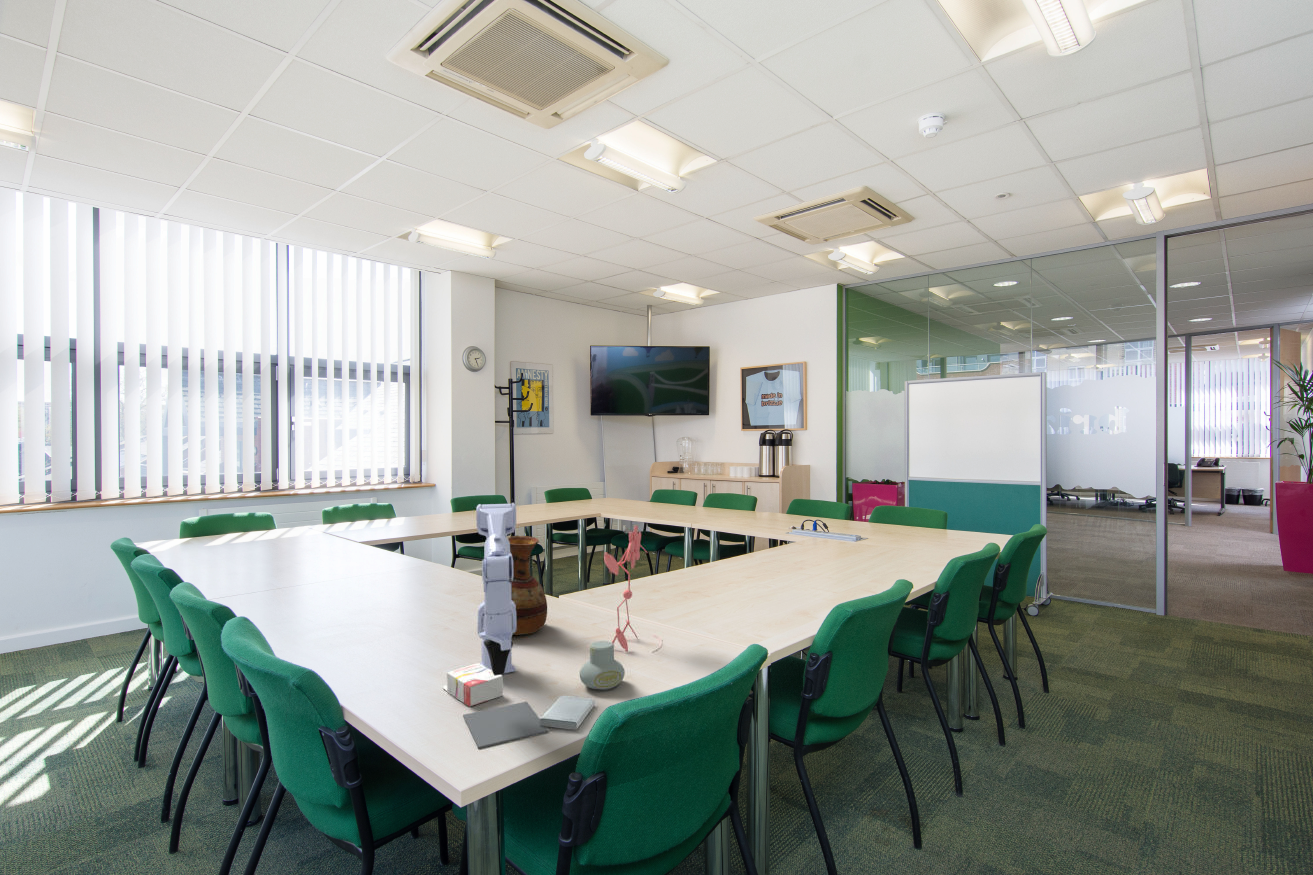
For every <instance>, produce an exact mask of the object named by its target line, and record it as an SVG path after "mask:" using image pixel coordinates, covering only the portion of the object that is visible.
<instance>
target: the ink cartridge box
mask: <svg viewBox="0 0 1313 875" xmlns="http://www.w3.org/2000/svg"><path fill="white" fill-rule="evenodd" d="M479 663H480V662H476V663H473V664H469V665H467V666H463V667H460V668H457V669H454V670H451V671H448V672H446V679H447V680H446V685H443V686H442V689H444V690H445V691H446V692H447V693H448V694H449V695H451V696H452V697H454V698H456V699H457V700H459V701H460V702H462V703H464V704H465V705H466V706H468V707H473V706H476V705H479V704H482V703H485V702H488V701H491V700H494V699H497V698H499V697H502V696H503V694H504V693H503V692H504V691H503V690H504V688H503V686H504V684H503V682H504V681H503V680H504V678H503V674H501V675H496V676H494V674H493V671H492V670H490V669H489V668H487V667H485V666H483V665H481V664H479Z"/></svg>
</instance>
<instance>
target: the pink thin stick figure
mask: <svg viewBox="0 0 1313 875" xmlns="http://www.w3.org/2000/svg"><path fill="white" fill-rule="evenodd" d="M641 540H642V532H641V531H639V528H638V525H637V524H636V525H634V527H633V531H630V532H629V533H628V541H629V542H628V547H627V548H626V550H625V552H624V554H622V557H621V558H620V560H619V561H618V562H617V560H616V559H615V557H614V556H613V555H612V554H609V553H608V552H606V551H605V552H604V556H603V559H604V564H605V566H606V567H607V568H608V571H609V574H612V573H613V574H614V575H616V576H618V575H619V570H620V568H622V570H623V571H624V572H626V574H627V578H628V580H627V581H628V582H627V583H628V584H627V585H628V589H625V590H624V591H623V593H622V596H623V598H624V599H623V601H621V603H620V604H619V605H618V606H617V610H616V611H617V626H618V627H617V628H615V636H614V638H613V639H612V641H611V642H612V643H613V644H614V645H615V641H616V640H617V641H618V643H619V644H620V646H621V647H622V648H623V650H624V651H625V652H627V653H628V652H629V646H628V640H627V639H626V636H625V634H624V633H625V632H626V630H627V628H628V626H629V628H630V630H631V632H632V633H633V634H634V636H635V637H636V639H638V636H637V634H636V632H635V630H634V629H633V627H632V626H631V622H630V616H629V609H628V608H629V606H628V600H630V599H631V598H632V597H633V591H631V574H630V572H629V571H628V570H627V568H625V567H624V565H623V564H625V563H626V561H627V563H629V562H630V568H631V569H632V570H633V569H634V568H635V566H636V561H639V560H640V558H641V555H640V553H641V552H640V550H641V549H640V548H642V549H643V550H644V552H645V553H646V554H648V551H647V550H646V549H645V548H644V547H643V545H641ZM619 566H620V568H619ZM623 603H625V606H626V612H627V619H625V621H626V624H625V626H624V627H623V630H621V628H620V614H619V611H620V610H619V608H620V607H621V606H622V605H623ZM654 638H657V639H658V640H660V638H659V637H657V636H656V635H654ZM660 641H661V643H663V639H662V640H660ZM661 648H662V646H661V647H659V648H658V649H655V650H653V651H652V653H654V652H656V651H658V650H659V649H661Z"/></svg>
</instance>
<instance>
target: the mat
mask: <svg viewBox="0 0 1313 875" xmlns="http://www.w3.org/2000/svg"><path fill="white" fill-rule="evenodd" d="M462 718H463V719H464V721H465V724H466V726H467V727H468V730H469V732H470V734H471V736H472V739H473V741H474V743H475V745H476V746H477V749H478V750H479V749H485V748H488V747H493V746H496V745H501V744H504V743H509V741H510V742H513V741H514V742H515V741H519V740H522V739H525V738H530V736H531V737H535V736H538V735H543V734H547V733H549V729H548V728H547V726H541V725H540V724H539V722H540V721H539V720H540V718H541V717H539V716H538V715H537V712H536V711H535V710H534V709H533V708H532V707H531V705H530V704H529V702H527V701H522V702H517V703H512V704H508V705H503V706H499V707H494V708H489V709H485V710H479V711H474V712H470V713H465V714H463V715H462ZM521 738H522V739H521Z"/></svg>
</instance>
